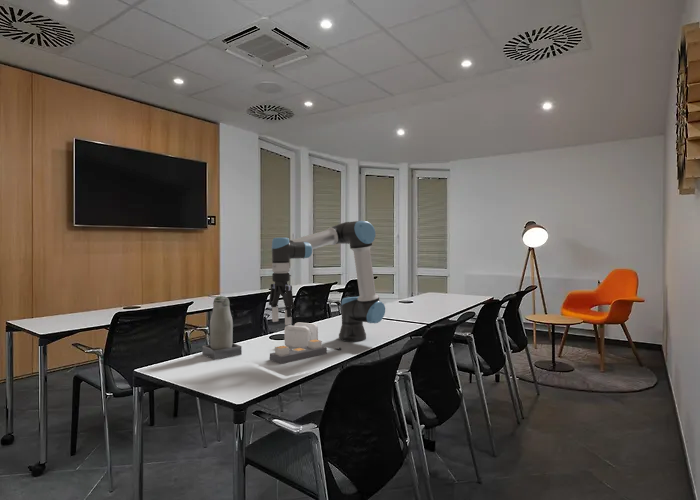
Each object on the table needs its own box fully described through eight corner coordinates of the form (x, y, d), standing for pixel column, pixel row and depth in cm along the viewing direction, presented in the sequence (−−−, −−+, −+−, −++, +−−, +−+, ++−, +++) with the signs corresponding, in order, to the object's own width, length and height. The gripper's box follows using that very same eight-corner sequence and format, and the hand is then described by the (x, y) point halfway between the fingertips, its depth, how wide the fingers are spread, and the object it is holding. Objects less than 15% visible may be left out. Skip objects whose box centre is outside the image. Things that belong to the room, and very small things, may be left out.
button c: (283, 352, 192) (283, 345, 192) (289, 354, 189) (289, 347, 188) (275, 354, 189) (274, 346, 189) (280, 356, 186) (280, 348, 186)
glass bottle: (206, 356, 201) (205, 297, 201) (218, 351, 211) (217, 294, 211) (225, 357, 199) (225, 297, 199) (236, 352, 209) (235, 295, 209)
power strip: (334, 348, 214) (334, 340, 214) (346, 351, 208) (346, 343, 208) (269, 362, 190) (269, 353, 190) (280, 366, 183) (280, 357, 183)
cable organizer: (319, 346, 218) (319, 324, 218) (307, 351, 209) (307, 327, 209) (296, 343, 226) (296, 321, 226) (283, 348, 217) (283, 325, 217)
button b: (300, 354, 198) (300, 347, 198) (305, 356, 194) (305, 349, 194) (292, 356, 195) (292, 349, 195) (297, 358, 192) (297, 350, 191)
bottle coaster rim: (228, 349, 215) (228, 341, 214) (241, 354, 204) (241, 346, 204) (202, 354, 206) (202, 346, 206) (214, 359, 195) (214, 351, 195)
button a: (315, 346, 204) (315, 339, 204) (321, 347, 200) (321, 340, 200) (308, 347, 201) (308, 340, 201) (313, 349, 197) (313, 342, 197)
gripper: (260, 271, 194) (261, 320, 195) (287, 274, 178) (288, 327, 178) (274, 271, 199) (275, 318, 200) (302, 273, 182) (303, 325, 183)
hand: (281, 322), depth 189 cm, fingers open, 10 cm apart
